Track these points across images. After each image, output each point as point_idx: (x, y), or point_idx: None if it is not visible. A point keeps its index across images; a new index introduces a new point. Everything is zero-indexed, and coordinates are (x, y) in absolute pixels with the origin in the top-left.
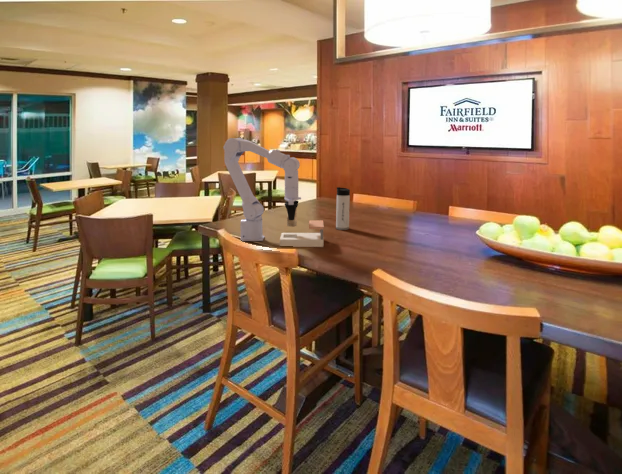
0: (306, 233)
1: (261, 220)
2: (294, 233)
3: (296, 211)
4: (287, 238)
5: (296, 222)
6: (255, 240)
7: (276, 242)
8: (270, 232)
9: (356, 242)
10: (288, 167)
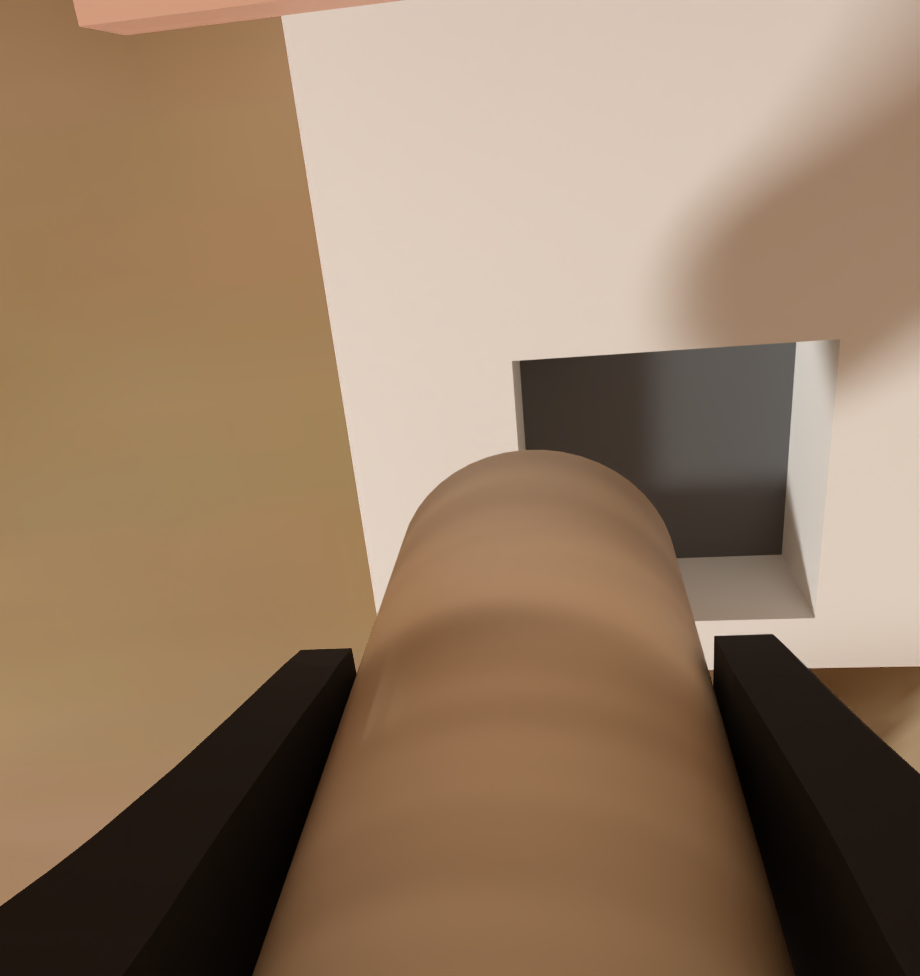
0: (373, 126)
1: None
2: (417, 427)
3: (546, 789)
4: (908, 528)
5: (544, 495)
6: None
7: None
8: (10, 789)
9: None
10: None
